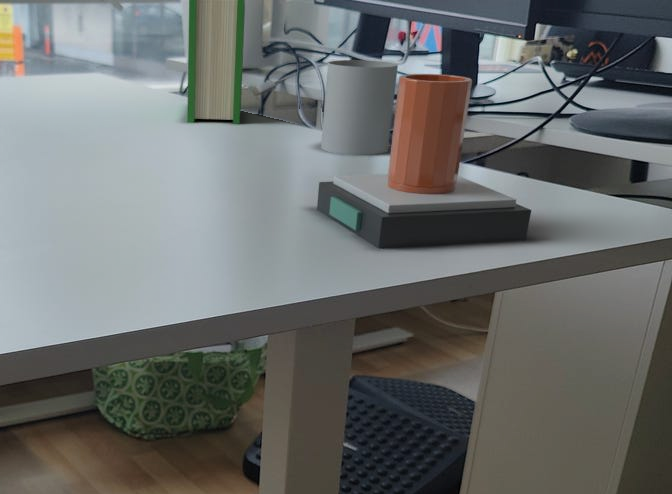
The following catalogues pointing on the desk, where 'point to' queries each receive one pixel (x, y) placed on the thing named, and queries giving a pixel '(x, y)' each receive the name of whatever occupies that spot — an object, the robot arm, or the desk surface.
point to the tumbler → (428, 133)
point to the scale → (421, 213)
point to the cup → (358, 106)
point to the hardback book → (215, 59)
